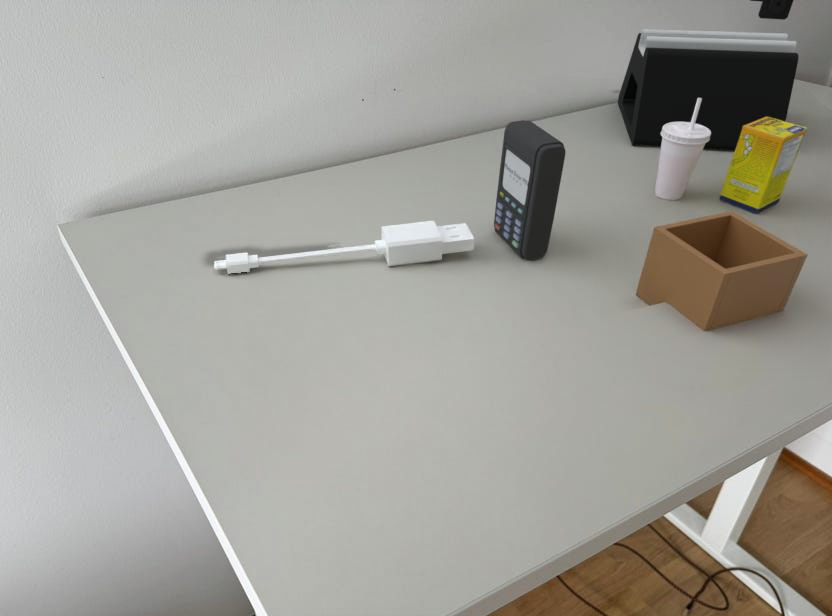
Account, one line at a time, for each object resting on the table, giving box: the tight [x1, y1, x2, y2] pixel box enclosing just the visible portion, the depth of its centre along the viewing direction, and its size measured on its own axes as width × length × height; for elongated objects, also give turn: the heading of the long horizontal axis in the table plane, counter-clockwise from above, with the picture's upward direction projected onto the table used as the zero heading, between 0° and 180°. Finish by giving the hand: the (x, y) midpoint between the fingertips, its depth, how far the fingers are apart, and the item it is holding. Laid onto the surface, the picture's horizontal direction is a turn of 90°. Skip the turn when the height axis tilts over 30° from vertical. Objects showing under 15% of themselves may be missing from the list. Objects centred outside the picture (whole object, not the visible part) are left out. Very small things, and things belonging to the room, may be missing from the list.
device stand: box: [617, 28, 799, 152], centre depth 120 cm, size 22×22×15 cm
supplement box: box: [718, 117, 808, 215], centre depth 98 cm, size 6×6×11 cm
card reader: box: [493, 119, 566, 261], centre depth 88 cm, size 9×4×15 cm, turn 18°
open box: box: [635, 210, 808, 332], centre depth 78 cm, size 11×11×9 cm
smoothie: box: [654, 98, 711, 201], centre depth 99 cm, size 6×6×14 cm
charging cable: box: [213, 220, 475, 275], centre depth 89 cm, size 5×32×3 cm, turn 98°
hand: (766, 9), depth 90 cm, fingers open, 9 cm apart
